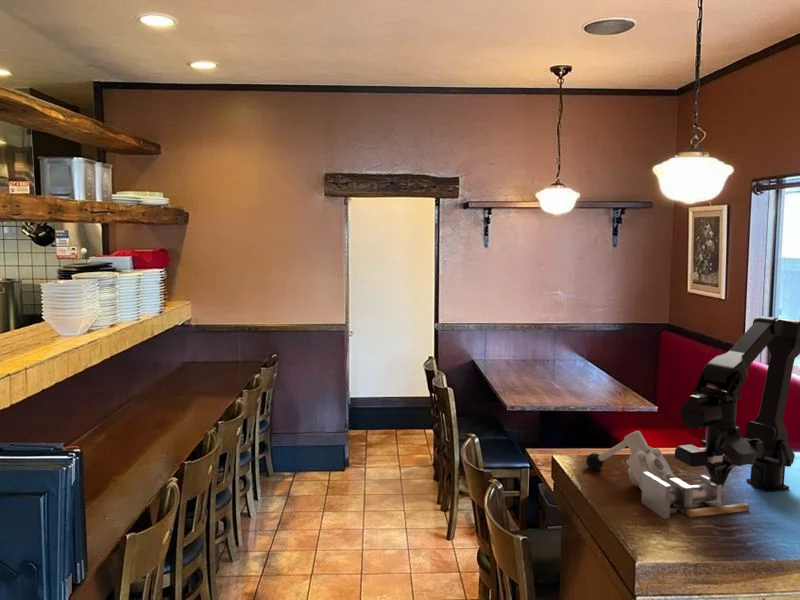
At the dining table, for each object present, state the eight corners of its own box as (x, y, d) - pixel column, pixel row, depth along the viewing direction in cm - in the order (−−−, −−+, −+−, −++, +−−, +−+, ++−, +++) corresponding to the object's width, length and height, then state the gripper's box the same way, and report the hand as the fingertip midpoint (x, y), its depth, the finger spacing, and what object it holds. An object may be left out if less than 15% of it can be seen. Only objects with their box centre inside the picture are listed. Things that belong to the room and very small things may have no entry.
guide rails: (718, 493, 147) (719, 488, 147) (748, 510, 138) (749, 505, 138) (662, 499, 144) (663, 494, 143) (689, 517, 135) (690, 511, 135)
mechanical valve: (657, 489, 142) (623, 427, 149) (601, 519, 154) (572, 460, 161) (683, 482, 148) (649, 423, 155) (626, 511, 160) (597, 454, 167)
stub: (668, 500, 143) (669, 469, 143) (692, 515, 136) (694, 483, 135) (641, 502, 142) (642, 472, 141) (664, 518, 134) (665, 486, 133)
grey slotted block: (703, 499, 144) (704, 475, 143) (720, 509, 139) (722, 484, 138) (671, 502, 142) (672, 478, 142) (687, 512, 137) (689, 487, 136)
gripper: (709, 436, 130) (707, 510, 131) (787, 427, 134) (784, 499, 136) (674, 420, 140) (672, 489, 142) (747, 412, 145) (744, 480, 146)
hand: (718, 490), depth 141 cm, fingers closed
